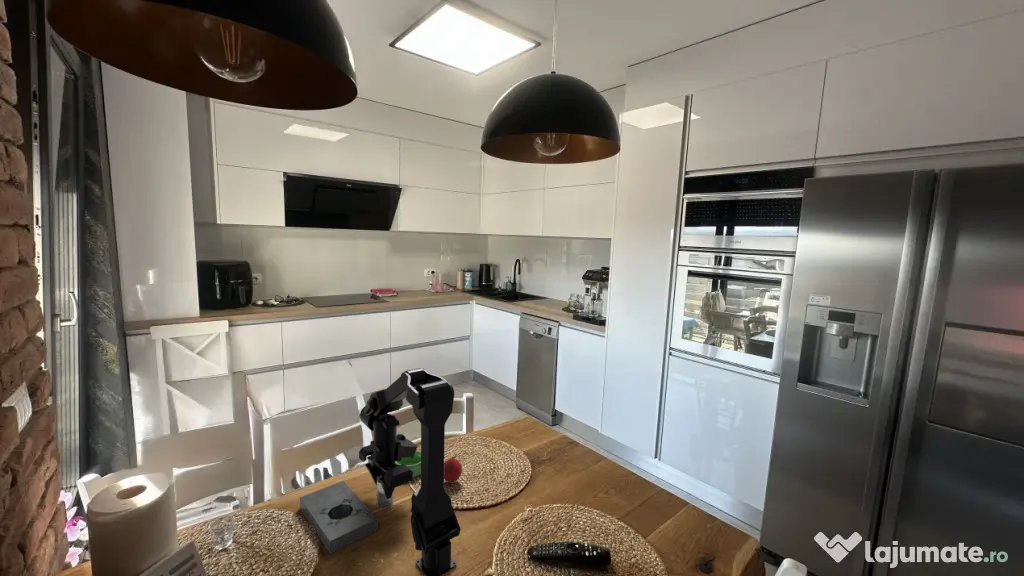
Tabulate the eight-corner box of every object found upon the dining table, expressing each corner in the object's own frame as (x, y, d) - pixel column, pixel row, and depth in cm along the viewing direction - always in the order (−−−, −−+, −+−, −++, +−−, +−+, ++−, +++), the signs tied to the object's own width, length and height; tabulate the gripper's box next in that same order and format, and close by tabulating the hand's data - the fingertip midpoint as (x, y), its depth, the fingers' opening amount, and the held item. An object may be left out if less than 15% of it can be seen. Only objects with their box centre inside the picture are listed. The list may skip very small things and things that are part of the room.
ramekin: (416, 459, 128) (416, 446, 127) (430, 473, 121) (430, 459, 120) (389, 469, 122) (389, 455, 121) (401, 483, 115) (401, 469, 115)
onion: (457, 490, 113) (458, 463, 112) (438, 486, 114) (438, 460, 113) (464, 478, 119) (465, 452, 118) (445, 475, 120) (446, 450, 119)
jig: (377, 530, 96) (377, 518, 96) (330, 553, 89) (329, 541, 88) (343, 490, 110) (343, 480, 110) (300, 508, 103) (299, 497, 102)
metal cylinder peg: (395, 503, 106) (395, 475, 105) (381, 510, 103) (381, 481, 102) (388, 496, 109) (388, 468, 108) (374, 502, 106) (374, 474, 105)
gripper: (432, 441, 103) (431, 498, 105) (395, 416, 116) (395, 467, 118) (391, 456, 95) (391, 517, 97) (357, 428, 109) (358, 482, 110)
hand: (384, 494), depth 106 cm, fingers closed on metal cylinder peg, 4 cm apart
